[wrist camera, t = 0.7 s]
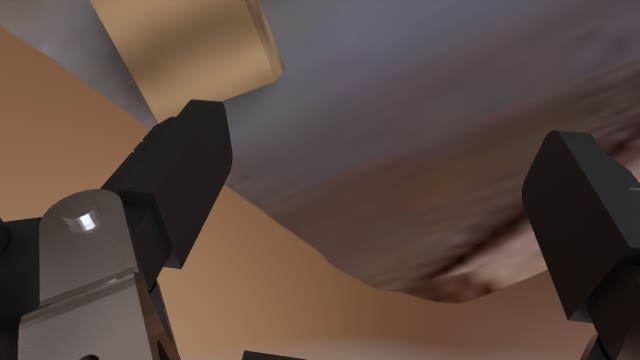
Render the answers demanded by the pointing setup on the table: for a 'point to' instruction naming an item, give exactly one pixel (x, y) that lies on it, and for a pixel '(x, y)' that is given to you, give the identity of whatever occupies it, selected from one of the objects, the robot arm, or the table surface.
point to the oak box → (191, 49)
